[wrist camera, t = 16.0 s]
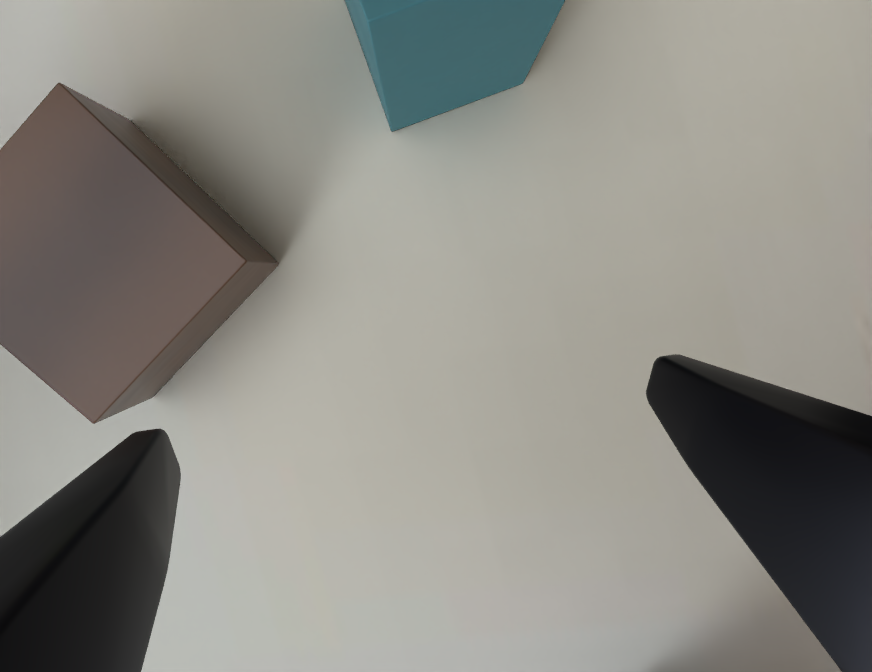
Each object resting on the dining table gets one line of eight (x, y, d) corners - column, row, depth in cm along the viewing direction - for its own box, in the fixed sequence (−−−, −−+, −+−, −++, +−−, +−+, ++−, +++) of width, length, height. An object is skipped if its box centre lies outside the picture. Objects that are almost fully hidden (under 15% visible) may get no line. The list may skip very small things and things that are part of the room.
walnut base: (279, 263, 19) (247, 261, 15) (151, 398, 20) (93, 424, 16) (128, 118, 18) (58, 81, 15) (-1, 264, 19) (-98, 261, 15)
